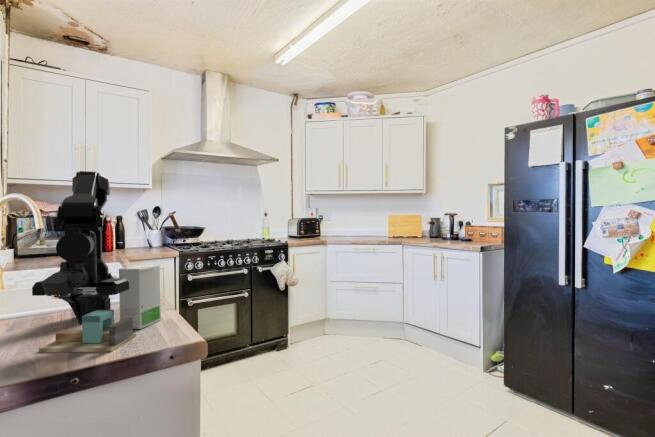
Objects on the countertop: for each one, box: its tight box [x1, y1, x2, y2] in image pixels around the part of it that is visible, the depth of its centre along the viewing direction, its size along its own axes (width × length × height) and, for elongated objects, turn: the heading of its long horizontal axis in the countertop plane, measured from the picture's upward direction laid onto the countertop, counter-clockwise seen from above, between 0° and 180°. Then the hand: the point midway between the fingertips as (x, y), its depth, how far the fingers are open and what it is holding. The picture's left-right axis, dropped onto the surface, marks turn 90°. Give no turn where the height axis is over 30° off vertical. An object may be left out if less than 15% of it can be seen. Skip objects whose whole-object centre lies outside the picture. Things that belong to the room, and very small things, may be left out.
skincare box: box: [118, 264, 162, 330], centre depth 91 cm, size 8×7×16 cm
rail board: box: [38, 317, 137, 353], centre depth 78 cm, size 16×9×5 cm, turn 89°
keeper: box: [81, 309, 115, 343], centre depth 78 cm, size 4×5×6 cm
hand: (82, 324), depth 78 cm, fingers closed
